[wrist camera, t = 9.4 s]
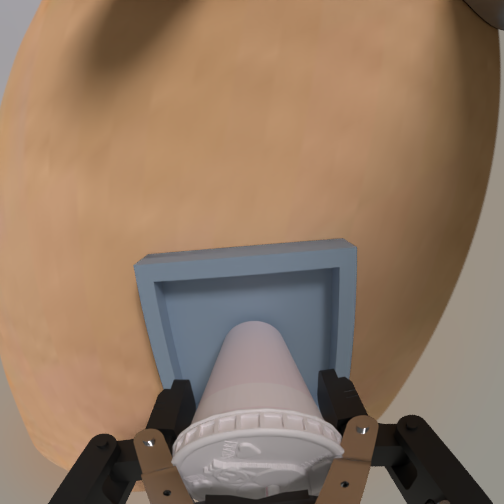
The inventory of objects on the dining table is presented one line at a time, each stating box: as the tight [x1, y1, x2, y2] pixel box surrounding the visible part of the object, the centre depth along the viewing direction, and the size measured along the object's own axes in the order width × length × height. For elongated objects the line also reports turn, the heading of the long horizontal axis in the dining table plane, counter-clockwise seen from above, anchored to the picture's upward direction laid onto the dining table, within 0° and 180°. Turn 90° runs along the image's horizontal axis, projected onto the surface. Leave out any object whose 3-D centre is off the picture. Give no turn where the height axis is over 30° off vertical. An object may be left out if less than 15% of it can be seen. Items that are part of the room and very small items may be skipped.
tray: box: [134, 238, 357, 413], centre depth 18 cm, size 12×12×2 cm
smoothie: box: [171, 321, 344, 501], centre depth 10 cm, size 6×6×14 cm
